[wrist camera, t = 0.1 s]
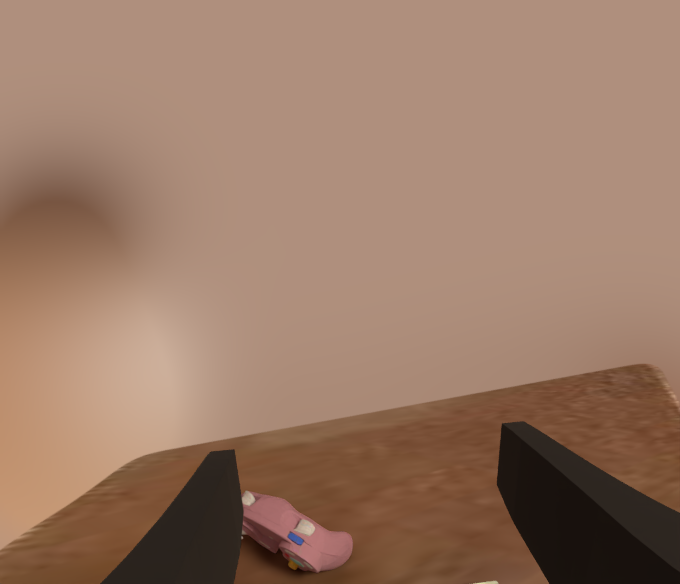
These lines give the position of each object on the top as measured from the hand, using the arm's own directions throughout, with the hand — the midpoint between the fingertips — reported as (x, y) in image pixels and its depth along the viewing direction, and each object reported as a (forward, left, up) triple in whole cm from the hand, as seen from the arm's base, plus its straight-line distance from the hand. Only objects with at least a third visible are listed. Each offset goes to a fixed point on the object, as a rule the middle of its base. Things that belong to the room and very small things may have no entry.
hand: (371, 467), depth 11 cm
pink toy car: (+19, +5, -22) cm, 29 cm away
